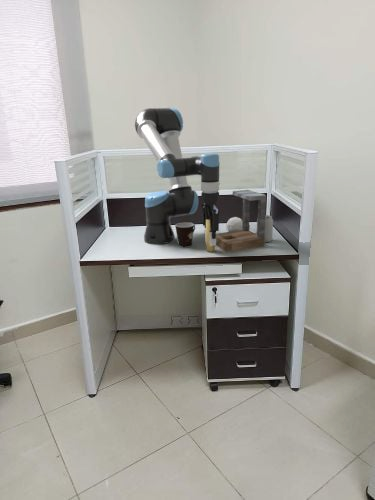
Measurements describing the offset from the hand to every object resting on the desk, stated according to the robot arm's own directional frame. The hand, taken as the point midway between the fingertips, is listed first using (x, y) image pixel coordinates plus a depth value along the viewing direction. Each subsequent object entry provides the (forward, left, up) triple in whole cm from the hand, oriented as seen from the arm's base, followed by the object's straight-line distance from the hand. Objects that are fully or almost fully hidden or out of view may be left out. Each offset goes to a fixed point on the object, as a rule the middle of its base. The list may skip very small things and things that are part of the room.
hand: (210, 243), depth 155 cm
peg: (0, 0, -3) cm, 3 cm away
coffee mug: (-13, -6, -4) cm, 15 cm away
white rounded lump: (-17, +23, -4) cm, 29 cm away
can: (-2, +29, -4) cm, 29 cm away
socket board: (-3, +15, -3) cm, 16 cm away
